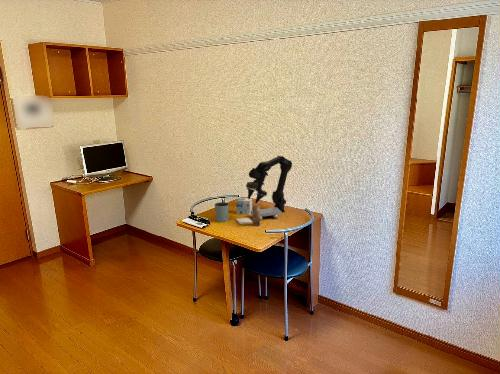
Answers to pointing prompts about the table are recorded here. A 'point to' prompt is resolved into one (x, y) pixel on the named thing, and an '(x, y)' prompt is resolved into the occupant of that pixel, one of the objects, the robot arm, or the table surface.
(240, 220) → the pad
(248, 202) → the light bulb box
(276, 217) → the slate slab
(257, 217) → the walnut roller
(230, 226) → the table surface
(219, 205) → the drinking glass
